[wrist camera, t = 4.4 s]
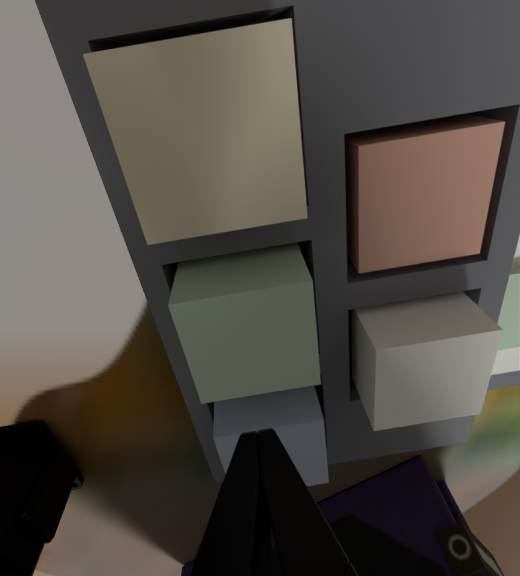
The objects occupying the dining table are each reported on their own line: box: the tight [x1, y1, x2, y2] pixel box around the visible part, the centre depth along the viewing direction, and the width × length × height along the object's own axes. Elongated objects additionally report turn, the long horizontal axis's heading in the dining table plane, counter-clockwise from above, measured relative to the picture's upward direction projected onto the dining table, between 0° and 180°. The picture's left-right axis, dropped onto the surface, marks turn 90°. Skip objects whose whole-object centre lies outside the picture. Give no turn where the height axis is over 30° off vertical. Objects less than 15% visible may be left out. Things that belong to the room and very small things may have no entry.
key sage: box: [168, 242, 321, 404], centre depth 13 cm, size 4×4×3 cm
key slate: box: [213, 385, 329, 486], centre depth 17 cm, size 4×4×3 cm
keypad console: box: [35, 0, 520, 483], centre depth 15 cm, size 19×21×4 cm
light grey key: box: [351, 291, 503, 431], centre depth 15 cm, size 4×4×3 cm
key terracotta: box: [344, 114, 505, 273], centre depth 13 cm, size 4×4×3 cm
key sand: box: [83, 18, 308, 245], centre depth 10 cm, size 4×4×3 cm
